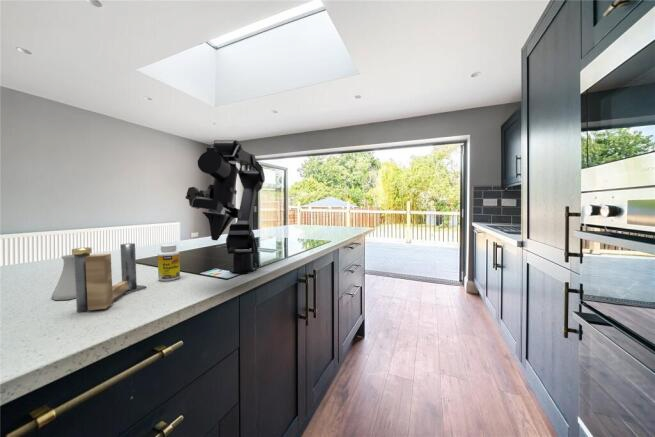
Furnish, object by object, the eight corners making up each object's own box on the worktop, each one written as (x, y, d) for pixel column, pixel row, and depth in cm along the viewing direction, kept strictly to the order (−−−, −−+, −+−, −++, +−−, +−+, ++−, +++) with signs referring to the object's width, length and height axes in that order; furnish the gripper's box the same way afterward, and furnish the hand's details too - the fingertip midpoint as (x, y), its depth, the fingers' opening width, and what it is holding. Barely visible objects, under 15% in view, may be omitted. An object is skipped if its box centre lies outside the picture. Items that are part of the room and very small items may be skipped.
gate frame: (132, 286, 70) (130, 238, 70) (155, 288, 68) (153, 239, 67) (54, 309, 55) (51, 248, 54) (81, 313, 52) (77, 250, 52)
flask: (67, 302, 59) (64, 258, 58) (43, 300, 60) (40, 257, 60) (100, 291, 66) (99, 253, 65) (78, 290, 67) (76, 252, 67)
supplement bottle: (160, 282, 73) (159, 247, 73) (156, 278, 77) (155, 245, 77) (182, 279, 77) (181, 245, 77) (177, 275, 81) (176, 243, 81)
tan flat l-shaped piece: (117, 291, 64) (115, 247, 64) (131, 290, 65) (130, 247, 65) (87, 310, 53) (85, 256, 52) (105, 308, 54) (102, 256, 53)
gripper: (210, 188, 81) (201, 238, 79) (176, 170, 62) (163, 234, 60) (245, 192, 81) (237, 242, 79) (221, 176, 62) (210, 240, 60)
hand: (214, 240), depth 69 cm, fingers closed
